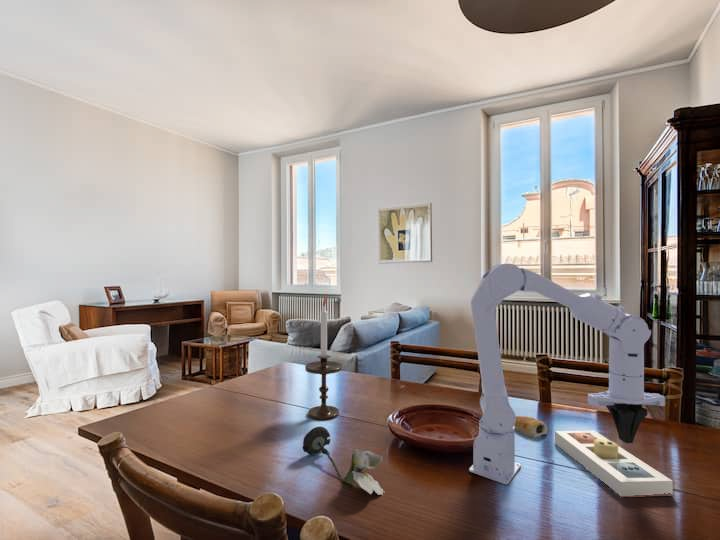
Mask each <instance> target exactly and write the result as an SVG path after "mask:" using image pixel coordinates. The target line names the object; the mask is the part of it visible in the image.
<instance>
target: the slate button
mask: <svg viewBox="0 0 720 540" xmlns="http://www.w3.org/2000/svg"><path fill="white" fill-rule="evenodd" d="M617 471H619V472H620V473H621V474H623V475H624V476H625V477H627V478H645V472H644V470H643V469H641V468H640V467H638V466H635V465H633V464H628V463H619V464H617Z"/></svg>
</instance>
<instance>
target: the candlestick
mask: <svg viewBox="0 0 720 540" xmlns="http://www.w3.org/2000/svg"><path fill="white" fill-rule="evenodd" d="M327 299H328V298H327V296H325V298H324V300H323V303H322V310H321V311H320V355H317V357H316V358H318V359H320V361H312V362H309V363H307V364H305V372H307V373H309V374H315V375H321V386H320V387H318V390H319V393H321V394H320V396H319V399H320V400H321V404H320V405H317V406H314V407H312V408H310V409H309V410H308V417H309V418H310V419H312V420H314V421H315V420H316V421H330V420H333V419H336V418H338V417H339V415H340V409H339V408H337V407H336V406H331V405H327V399H328V397H329V396H328V395H327V393H328V392H329V387H328V386H327V375H329V374H336V373H339V372H341V371H343V364H342V363H340V362H336V361H332V360H328V358H331V355H328V311H327V310H326V303H327Z"/></svg>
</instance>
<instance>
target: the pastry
mask: <svg viewBox="0 0 720 540" xmlns="http://www.w3.org/2000/svg"><path fill="white" fill-rule="evenodd" d="M514 426H515V430H516V431H517V432H519V433H522V434H523V435H524V436H527V437H530V438H539V437H540V436H542V435H545V434H547V432H548V426H547V425H546V423H544V421H540V420H538V419H536V418H534V417H531V416H527V415H526V416H524V415H522V416H520V415H519V416H517V415H516V423H515V425H514Z"/></svg>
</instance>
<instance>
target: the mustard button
mask: <svg viewBox="0 0 720 540" xmlns="http://www.w3.org/2000/svg"><path fill="white" fill-rule="evenodd" d="M609 440H610V439H608V440H605V439H595V440H594V454H596V455H597V456H598V457H600V458H601V459H618V446H619V444H618V443H617V442H615V441H612V440H610V441H609Z"/></svg>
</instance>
